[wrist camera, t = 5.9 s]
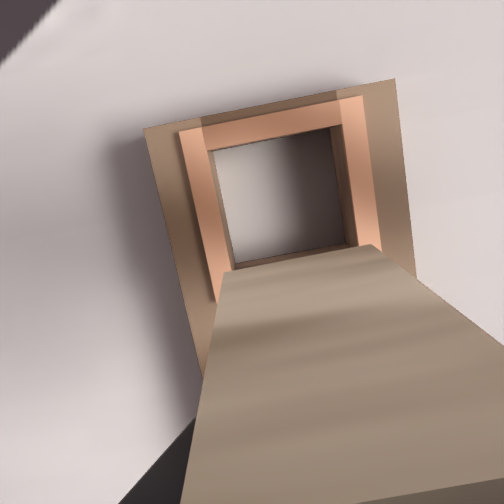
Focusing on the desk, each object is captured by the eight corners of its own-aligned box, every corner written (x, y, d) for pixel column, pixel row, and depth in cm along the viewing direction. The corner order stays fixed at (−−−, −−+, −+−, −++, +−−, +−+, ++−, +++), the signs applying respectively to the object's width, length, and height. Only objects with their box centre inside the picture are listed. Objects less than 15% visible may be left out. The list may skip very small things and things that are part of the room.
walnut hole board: (428, 529, 24) (451, 577, 21) (255, 556, 25) (255, 607, 22) (376, 88, 19) (397, 76, 16) (156, 132, 19) (141, 128, 17)
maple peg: (389, 377, 12) (635, 773, 4) (252, 402, 12) (262, 829, 5) (371, 243, 11) (642, 452, 4) (223, 272, 11) (174, 534, 4)
